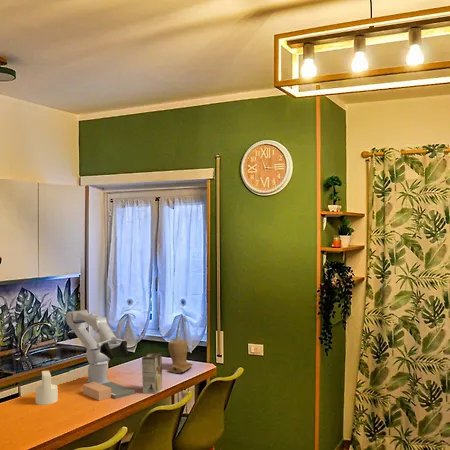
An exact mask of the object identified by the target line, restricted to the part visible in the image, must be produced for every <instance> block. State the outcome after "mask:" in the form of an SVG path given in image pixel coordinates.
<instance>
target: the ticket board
mask: <svg viewBox="0 0 450 450" xmlns="http://www.w3.org/2000/svg"><path fill="white" fill-rule="evenodd" d="M102 385H104V386H107V387H109V388H111V399H114V400H117V399H120V398H125V397H127V396H128V397H129V396H131V395H132V396H133V395H135V394H136V390H135V389H131V388H130V387H126V386H124V385H122V384H118V383H116V382H113V381H111V382H107V383H103V384H102Z"/></svg>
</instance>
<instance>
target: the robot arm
mask: <svg viewBox="0 0 450 450" xmlns="http://www.w3.org/2000/svg"><path fill="white" fill-rule="evenodd" d="M65 316H66V317H65V320H66V324H67V325H68V326H69V328H70V329H71V330H73V332H74V334H75V335H76V337H77V338H78V340H79V341H80V342H81V343H82V345H83V346H84V347H85V349H86V354H85V358H86V359H87V362H88V364H89V365H88V367H87V380H86V383H91V382H97V383H99V384H103V383H107V382H112V381H111V380H109V379H108V364H109V362H110V360H113V358H114V353H113V352H112V349H115V348H118V347H119V349H118V351H119V352H121V353H122V355H123V356H124V357H125V358H129V357H128V356H129V351H128V341H127V339H120V338H118V337H117V336H116V335H115V334H114V332H113V331H112V329H111V327H110V326H109V320H108V317H106V316H105V315H104V316H100V315H98V314H96V313H95V312H91V313H89V312H88V310H87V309H82V310H74V311H68V312H67V313H66V315H65ZM88 327H91V329H92V330H93V331H94V332H95V333H97V334H98V335H99V337H100V339H101V340H102V341H101V342H97V341H96V340H95V339H94V338H93V336H92V335H91V334H90V333H89V331H88V330H87V328H88Z"/></svg>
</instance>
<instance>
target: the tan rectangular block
mask: <svg viewBox="0 0 450 450" xmlns="http://www.w3.org/2000/svg"><path fill="white" fill-rule="evenodd" d="M83 394H84V395H85V396H88V397H90V398H91V399H95V400H96V401H99V402H100V401H103V400H106V399H110V398H111V399H112V397H111V388H109V387H107V386H104V385H102V384H99V383H97V382H91V383H88V382H86V383H83V384H82V395H83Z"/></svg>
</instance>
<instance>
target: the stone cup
mask: <svg viewBox="0 0 450 450" xmlns="http://www.w3.org/2000/svg"><path fill="white" fill-rule="evenodd" d="M167 345H168V347H167V348H168V353H169V354H170V357H171V361H172V365H171V366H169V367H168V368H167V370H168V371H170V372H171V373H173V374H181V373H183V372H185V371H187V370H189V369H190V368H192V367H193V366H194V365H193V363H190V362H187V355H188V343H187V341H186V340H185V339H182V340H173V341H169V342H168V344H167Z"/></svg>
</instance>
